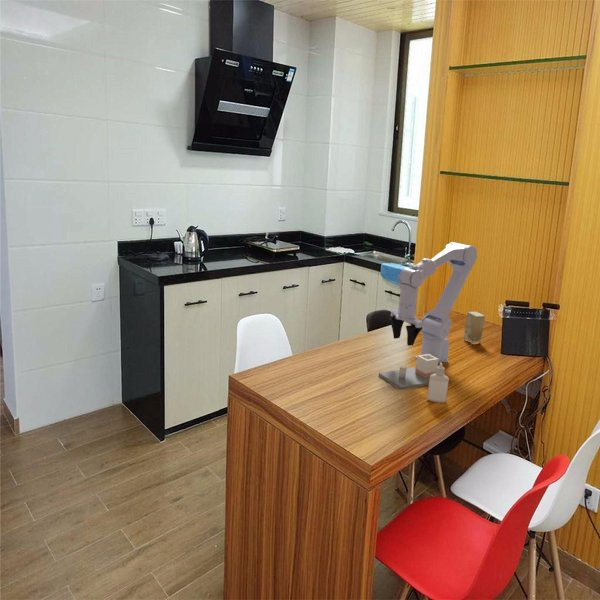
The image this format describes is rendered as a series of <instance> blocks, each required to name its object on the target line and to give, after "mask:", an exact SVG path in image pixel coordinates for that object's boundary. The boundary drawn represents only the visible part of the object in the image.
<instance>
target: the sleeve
mask: <svg viewBox="0 0 600 600" xmlns="http://www.w3.org/2000/svg"><path fill="white" fill-rule="evenodd" d="M416 356H417V358H416V361H415V362H416V363H415V367H416V369H415V372H416V373H417V374H419V375H421V376H423V377H424V378H426V377H430V375H432V374H436V368H437V366H439V363H438V360H439V359H438V358H436V357H434V356H432V355H430V354H425V355H421V354H419V355H416Z"/></svg>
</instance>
